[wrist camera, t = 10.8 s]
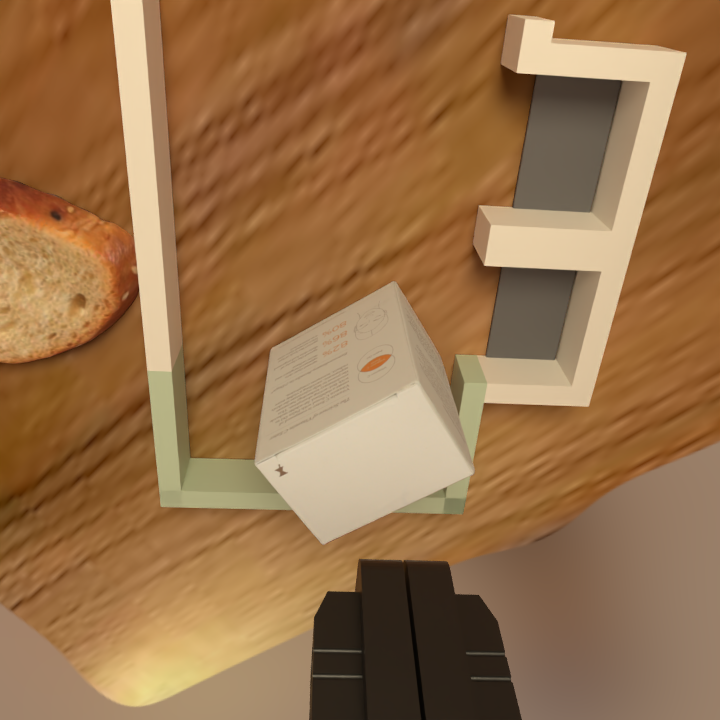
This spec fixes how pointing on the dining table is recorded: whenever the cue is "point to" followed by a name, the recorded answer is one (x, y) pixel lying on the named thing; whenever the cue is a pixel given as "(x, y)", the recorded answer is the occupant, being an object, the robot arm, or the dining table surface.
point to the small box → (359, 417)
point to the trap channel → (491, 240)
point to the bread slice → (58, 274)
